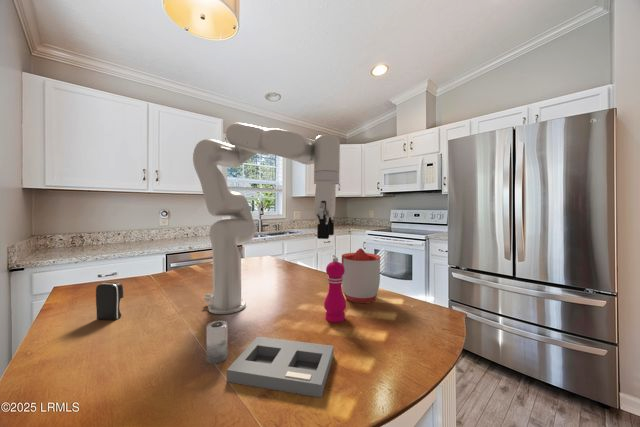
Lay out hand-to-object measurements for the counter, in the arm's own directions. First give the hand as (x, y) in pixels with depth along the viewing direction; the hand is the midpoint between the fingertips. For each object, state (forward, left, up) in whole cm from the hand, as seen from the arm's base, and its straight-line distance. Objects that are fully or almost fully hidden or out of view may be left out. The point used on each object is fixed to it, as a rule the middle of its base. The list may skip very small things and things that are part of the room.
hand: (326, 236), depth 76 cm
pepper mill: (+2, +7, -28) cm, 29 cm away
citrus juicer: (+8, +27, -28) cm, 40 cm away
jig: (-5, -21, -27) cm, 35 cm away
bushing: (-22, -21, -27) cm, 41 cm away
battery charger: (-69, -9, -28) cm, 75 cm away
